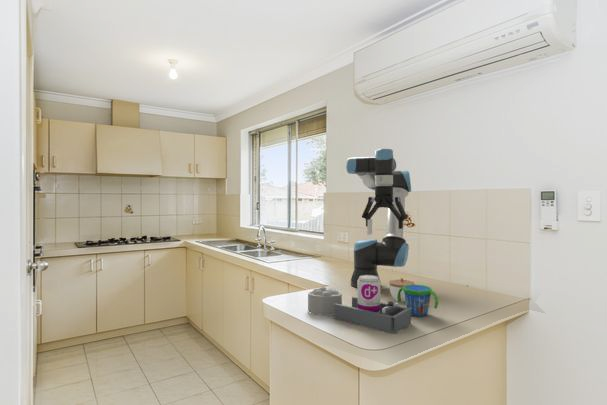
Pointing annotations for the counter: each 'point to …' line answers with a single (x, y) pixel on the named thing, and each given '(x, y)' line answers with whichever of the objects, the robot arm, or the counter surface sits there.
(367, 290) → the supplement can
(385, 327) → the gray storage bin
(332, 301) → the lumpy-topped squat cylinder
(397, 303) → the pusher
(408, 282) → the lidded jar
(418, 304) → the snack cup
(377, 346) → the counter surface
